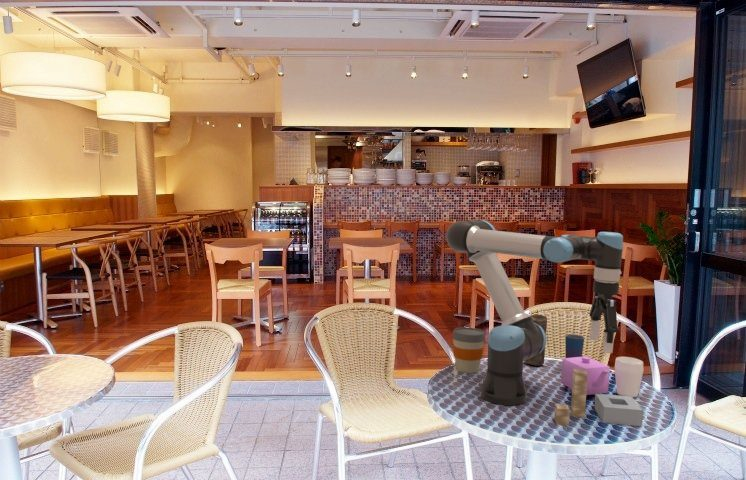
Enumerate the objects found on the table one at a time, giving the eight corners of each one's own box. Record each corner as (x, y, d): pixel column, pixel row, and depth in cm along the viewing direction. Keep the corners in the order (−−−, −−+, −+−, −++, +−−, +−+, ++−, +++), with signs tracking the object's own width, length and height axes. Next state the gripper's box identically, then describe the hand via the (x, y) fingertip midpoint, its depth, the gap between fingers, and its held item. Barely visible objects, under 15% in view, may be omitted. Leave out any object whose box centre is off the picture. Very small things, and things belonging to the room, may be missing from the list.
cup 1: (584, 377, 204) (587, 339, 202) (566, 377, 204) (569, 338, 202) (578, 371, 211) (580, 334, 209) (560, 371, 211) (562, 333, 209)
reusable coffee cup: (486, 366, 214) (488, 329, 213) (479, 376, 203) (481, 337, 201) (456, 362, 219) (457, 325, 218) (447, 371, 208) (448, 332, 206)
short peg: (556, 424, 162) (557, 408, 161) (554, 419, 165) (555, 403, 165) (568, 425, 161) (569, 409, 161) (566, 420, 164) (567, 404, 164)
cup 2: (644, 400, 183) (647, 365, 182) (616, 397, 184) (618, 363, 183) (637, 390, 192) (639, 357, 190) (610, 388, 193) (612, 355, 192)
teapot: (556, 385, 195) (558, 351, 194) (579, 382, 198) (581, 349, 197) (595, 406, 176) (597, 369, 175) (620, 403, 180) (622, 366, 178)
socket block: (603, 422, 163) (604, 406, 163) (594, 408, 174) (595, 393, 174) (641, 426, 162) (642, 410, 161) (630, 411, 172) (631, 396, 172)
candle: (547, 364, 219) (549, 316, 217) (540, 368, 213) (543, 319, 211) (529, 360, 223) (531, 313, 222) (522, 364, 218) (524, 316, 216)
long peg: (572, 416, 167) (575, 372, 166) (570, 412, 171) (573, 369, 170) (584, 417, 167) (587, 373, 166) (582, 413, 170) (584, 370, 169)
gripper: (633, 289, 158) (626, 359, 160) (606, 275, 183) (600, 336, 185) (606, 287, 159) (600, 357, 161) (583, 273, 183) (578, 334, 186)
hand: (600, 346), depth 173 cm, fingers open, 13 cm apart
